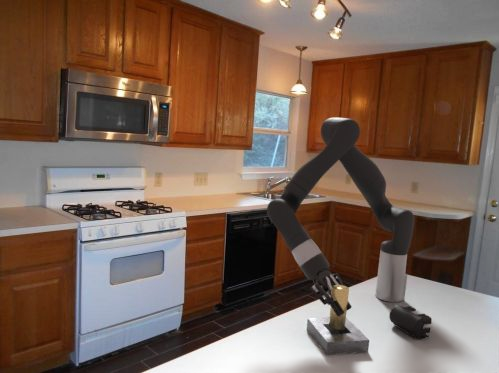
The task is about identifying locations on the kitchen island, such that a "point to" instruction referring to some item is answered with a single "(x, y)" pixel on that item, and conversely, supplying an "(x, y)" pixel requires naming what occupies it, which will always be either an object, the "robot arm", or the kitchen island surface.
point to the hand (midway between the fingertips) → (345, 311)
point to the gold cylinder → (342, 298)
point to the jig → (337, 337)
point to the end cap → (410, 321)
